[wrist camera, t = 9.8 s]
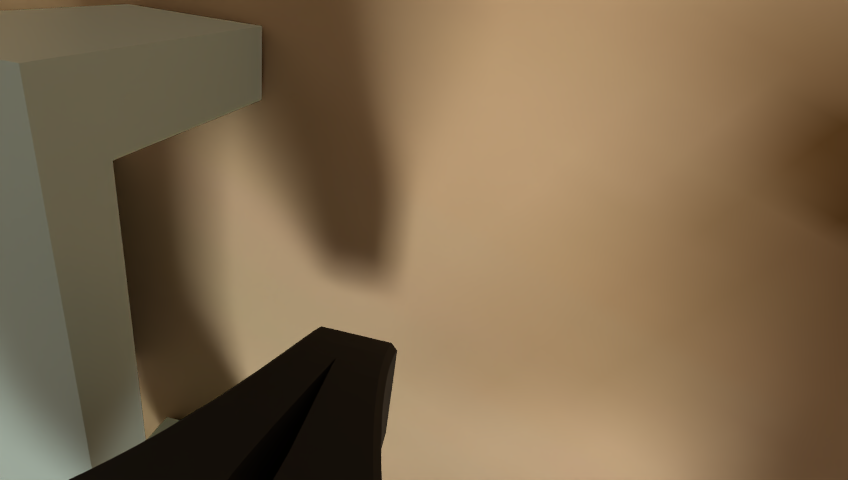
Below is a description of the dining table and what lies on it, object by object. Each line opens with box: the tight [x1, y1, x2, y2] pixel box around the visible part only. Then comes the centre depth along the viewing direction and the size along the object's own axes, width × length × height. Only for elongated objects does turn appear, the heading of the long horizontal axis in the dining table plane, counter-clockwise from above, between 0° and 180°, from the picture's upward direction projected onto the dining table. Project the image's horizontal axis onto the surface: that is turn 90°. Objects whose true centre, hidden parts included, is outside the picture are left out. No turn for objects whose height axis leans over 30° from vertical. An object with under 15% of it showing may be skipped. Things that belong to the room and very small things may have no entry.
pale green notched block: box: [0, 4, 262, 480], centre depth 9 cm, size 10×2×5 cm, turn 173°
